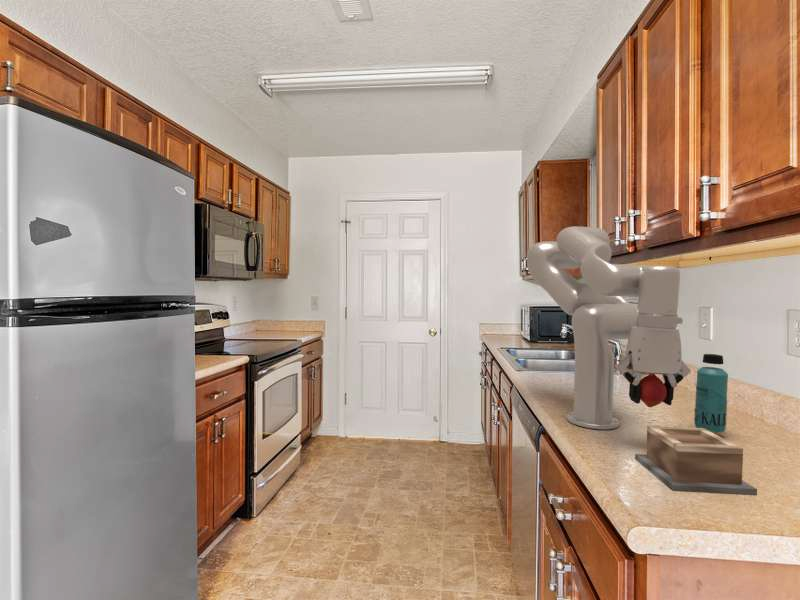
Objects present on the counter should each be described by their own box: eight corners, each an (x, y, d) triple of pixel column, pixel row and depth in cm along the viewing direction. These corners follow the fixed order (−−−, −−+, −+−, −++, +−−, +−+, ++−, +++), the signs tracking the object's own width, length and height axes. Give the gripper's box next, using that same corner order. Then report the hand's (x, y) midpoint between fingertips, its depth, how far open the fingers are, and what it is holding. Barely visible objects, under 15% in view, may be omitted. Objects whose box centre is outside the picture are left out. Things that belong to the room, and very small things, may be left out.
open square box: (635, 458, 88) (636, 423, 88) (705, 461, 87) (706, 426, 87) (672, 490, 74) (674, 448, 74) (756, 494, 73) (758, 452, 73)
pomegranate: (654, 403, 97) (657, 369, 96) (671, 411, 91) (674, 375, 90) (629, 402, 96) (632, 368, 96) (645, 411, 91) (647, 374, 90)
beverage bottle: (702, 428, 109) (705, 351, 108) (732, 437, 103) (735, 355, 102) (687, 432, 106) (690, 353, 105) (717, 440, 100) (720, 357, 99)
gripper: (687, 321, 95) (681, 399, 97) (608, 318, 97) (603, 395, 98) (708, 325, 88) (701, 410, 89) (622, 322, 89) (617, 405, 91)
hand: (650, 401), depth 94 cm, fingers closed on pomegranate, 5 cm apart
